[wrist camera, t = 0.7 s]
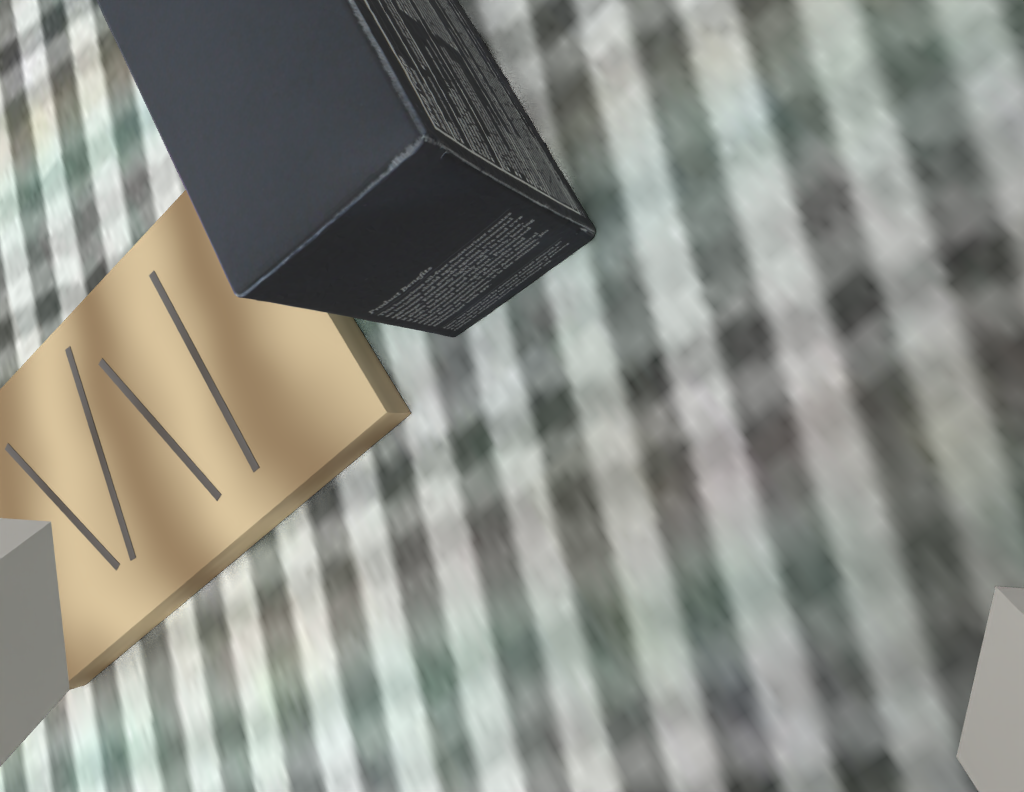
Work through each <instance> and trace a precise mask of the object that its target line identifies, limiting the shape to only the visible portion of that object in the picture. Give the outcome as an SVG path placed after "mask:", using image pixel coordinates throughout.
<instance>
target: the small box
mask: <svg viewBox="0 0 1024 792" xmlns="http://www.w3.org/2000/svg"><path fill="white" fill-rule="evenodd" d="M97 2H98V4H99V6H100V9H101V11H102V13H103V15H104V18H105V20H106V22H107V24H108V26H109V28H110V30H111V32H112V34H113V36H114V38H115V41H116V43H117V45H118V47H119V49H120V51H121V53H122V55H123V57H124V59H125V61H126V64H127V66H128V68H129V70H130V72H131V74H132V76H133V78H134V80H135V82H136V85H137V87H138V89H139V91H140V93H141V95H142V97H143V99H144V102H145V104H146V106H147V108H148V110H149V112H150V114H151V116H152V119H153V121H154V123H155V125H156V127H157V129H158V131H159V133H160V136H161V138H162V140H163V142H164V144H165V146H166V148H167V151H168V153H169V155H170V157H171V159H172V161H173V163H174V165H175V168H176V170H177V172H178V174H179V176H180V178H181V180H182V183H183V185H184V187H185V189H186V191H187V193H188V195H189V197H190V200H191V202H192V204H193V206H194V208H195V210H196V212H197V215H198V217H199V219H200V221H201V223H202V225H203V227H204V230H205V232H206V234H207V236H208V238H209V240H210V242H211V245H212V247H213V249H214V251H215V253H216V255H217V258H218V260H219V262H220V264H221V266H222V269H223V271H224V273H225V275H226V278H227V280H228V282H229V284H230V286H231V288H232V290H233V292H234V294H235V295H236V296H237V297H239V298H246V299H253V300H257V301H264V302H271V303H276V304H281V305H286V306H292V307H297V308H303V309H309V310H315V311H320V312H326V313H330V314H337V315H342V316H347V317H353V318H357V319H363V320H368V321H372V322H379V323H384V324H389V325H394V326H400V327H405V328H410V329H415V330H420V331H425V332H430V333H436V334H440V335H444V336H450V337H455V336H457V335H458V334H460V333H461V332H463V331H464V330H466V329H467V328H469V327H470V326H472V325H473V324H474V323H476V322H477V321H479V320H480V319H482V318H483V317H485V316H486V315H487V314H489V313H490V312H491V311H493V310H494V309H495V308H497V307H499V306H500V305H501V304H502V303H504V302H506V301H507V300H508V299H510V298H511V297H512V296H514V295H515V294H517V293H518V292H520V291H521V290H522V289H524V288H525V287H527V286H528V285H529V284H531V283H532V282H533V281H535V280H536V279H537V278H539V277H540V276H542V275H543V274H544V273H546V272H547V271H548V270H550V269H551V268H553V267H554V266H555V265H557V264H558V263H560V262H561V261H563V260H564V259H565V258H567V257H568V256H570V255H571V254H572V253H574V252H575V251H577V250H578V249H579V248H581V247H582V246H583V245H585V244H587V243H588V242H589V241H590V240H591V239H592V238H593V237H594V234H595V228H594V226H593V224H592V223H591V221H590V220H589V219H588V217H587V215H586V213H585V212H584V210H583V208H582V206H581V204H580V203H579V201H578V199H577V197H576V196H575V194H574V192H573V191H572V189H571V187H570V186H569V184H568V183H567V181H566V179H565V178H564V176H563V174H562V172H561V171H560V169H559V168H558V166H557V164H556V163H555V161H554V159H553V158H552V156H551V154H550V152H549V151H548V148H547V146H546V144H545V143H544V142H543V140H542V139H541V138H540V136H539V134H538V132H537V131H536V129H535V127H534V126H533V124H532V122H531V121H530V119H529V117H528V116H527V114H526V113H525V111H524V109H523V108H522V106H521V104H520V103H519V101H518V99H517V97H516V96H515V94H514V93H513V91H512V89H511V87H510V86H509V84H508V81H507V79H506V77H505V76H504V75H503V73H502V72H501V70H500V69H499V66H498V65H497V64H496V62H495V61H494V59H493V58H492V56H491V54H490V52H489V51H488V49H487V47H486V45H485V43H484V42H483V41H482V39H481V37H480V36H479V34H478V32H477V31H476V29H475V28H474V27H473V25H472V23H471V22H470V20H469V18H468V17H467V15H466V14H465V12H464V10H463V9H462V7H461V6H460V4H459V2H458V1H457V0H97Z"/></svg>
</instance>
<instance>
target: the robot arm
mask: <svg viewBox="0 0 1024 792" xmlns="http://www.w3.org/2000/svg"><path fill="white" fill-rule="evenodd" d="M69 690H70V688H69V679H68V670H67V661H66V652H65V643H64V634H63V625H62V616H61V607H60V598H59V589H58V580H57V571H56V562H55V553H54V544H53V535H52V526H51V521H36V520H22V519H7V518H0V766H1V765H2V764H3V763H4V762H5V761H6V760H7V759H8V758H9V756H10V755H11V754H12V753H13V752H14V751H15V750H16V749H17V748H18V746H19V745H20V744H21V743H22V742H23V741H24V740H25V739H26V738H27V736H28V735H29V734H30V733H31V732H32V731H33V730H34V729H35V728H36V726H37V725H38V724H39V723H40V722H41V721H42V720H43V719H44V718H45V716H46V715H47V714H48V713H49V712H50V711H51V710H52V709H53V708H54V706H55V705H56V704H57V703H58V702H59V701H60V700H61V699H62V697H63V696H64V695H65V694H66V693H67V692H68V691H69ZM956 757H957V759H958V760H959V762H960V763H961V765H962V766H963V768H964V770H965V771H966V773H967V774H968V776H969V777H970V779H971V780H972V782H973V784H974V785H975V787H976V788H977V790H978V791H979V792H1024V588H1014V587H999V586H995V591H994V595H993V599H992V604H991V608H990V612H989V617H988V621H987V626H986V630H985V634H984V639H983V643H982V647H981V652H980V656H979V660H978V665H977V669H976V673H975V678H974V682H973V687H972V691H971V695H970V700H969V704H968V708H967V713H966V717H965V721H964V726H963V730H962V735H961V739H960V743H959V748H958V752H957V756H956Z"/></svg>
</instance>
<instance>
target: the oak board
mask: <svg viewBox="0 0 1024 792" xmlns="http://www.w3.org/2000/svg"><path fill="white" fill-rule="evenodd" d="M410 414H411V412H410V411H409V409H408V407H407V406H406V404H405V402H404V401H403V399H402V398H401V396H400V394H399V393H398V391H397V389H396V388H395V386H394V384H393V383H392V381H391V379H390V378H389V376H388V374H387V373H386V371H385V369H384V368H383V366H382V365H381V363H380V361H379V360H378V358H377V356H376V355H375V353H374V351H373V350H372V348H371V346H370V345H369V343H368V341H367V340H366V338H365V337H364V335H363V333H362V332H361V330H360V328H359V327H358V325H357V323H356V322H355V320H354V318H353V317H347V316H342V315H337V314H330V313H326V312H320V311H315V310H309V309H303V308H297V307H292V306H286V305H281V304H276V303H271V302H264V301H257V300H253V299H246V298H239V297H237V296H236V295H235V294H234V292H233V290H232V288H231V286H230V284H229V282H228V280H227V278H226V275H225V273H224V271H223V269H222V266H221V264H220V262H219V260H218V258H217V255H216V253H215V251H214V249H213V247H212V245H211V242H210V240H209V238H208V236H207V234H206V232H205V230H204V227H203V225H202V223H201V221H200V219H199V217H198V215H197V212H196V210H195V208H194V206H193V204H192V202H191V200H190V197H189V195H188V193H187V191H186V190H185V191H184V192H183V193H182V195H181V196H180V197H179V198H178V199H177V200H176V201H175V202H174V203H173V204H172V205H171V206H170V207H169V209H168V210H167V211H166V212H165V213H164V214H163V215H162V216H161V217H160V218H159V219H158V220H157V221H156V222H155V224H154V225H153V226H152V227H151V228H150V229H149V230H148V231H147V232H146V233H145V234H144V235H143V236H142V238H141V239H140V240H139V241H138V242H137V243H136V244H135V245H134V246H133V247H132V248H131V249H130V250H129V252H128V253H127V254H126V255H125V256H124V257H123V258H122V259H121V260H120V261H119V262H118V263H117V264H116V266H115V267H114V268H113V269H112V270H111V271H110V272H109V273H108V274H107V275H106V276H105V277H104V278H103V279H102V281H101V282H100V283H99V284H98V285H97V286H96V287H95V288H94V289H93V290H92V291H91V292H90V293H89V295H88V296H87V297H86V298H85V299H84V300H83V301H82V302H81V303H80V304H79V305H78V306H77V307H76V309H75V310H74V311H73V312H72V313H71V314H70V315H69V316H68V317H67V318H66V319H65V320H64V321H63V323H62V324H61V325H60V326H59V327H58V328H57V329H56V330H55V331H54V332H53V333H52V334H51V335H50V337H49V338H48V339H47V340H46V341H45V342H44V343H43V344H42V345H41V346H40V347H39V348H38V349H37V350H36V352H35V353H34V354H33V355H32V356H31V357H30V358H29V359H28V360H27V361H26V362H25V363H24V364H23V366H22V367H21V368H20V369H19V370H18V371H17V372H16V373H15V374H14V375H13V376H12V377H11V378H10V380H9V381H8V382H7V383H6V384H5V385H4V386H3V387H2V388H1V389H0V518H7V519H22V520H36V521H51V526H52V535H53V544H54V553H55V562H56V571H57V580H58V589H59V598H60V607H61V616H62V625H63V634H64V643H65V652H66V661H67V670H68V679H69V688H70V689H74V688H77V687H80V686H83V685H86V684H87V683H88V682H89V681H91V680H92V679H93V678H94V677H95V676H97V675H98V674H99V673H100V672H101V671H103V670H104V669H105V668H106V667H107V666H109V665H110V664H111V663H112V662H113V661H115V660H116V659H117V658H118V657H119V656H121V655H122V654H123V653H124V652H125V651H127V650H128V649H129V648H130V647H131V646H133V645H134V644H135V643H136V642H137V641H139V640H140V639H141V638H142V637H143V636H145V635H146V634H147V633H148V632H149V631H151V630H152V629H153V628H154V627H155V626H157V625H158V624H159V623H160V622H161V621H163V620H164V619H165V618H166V617H167V616H169V615H170V614H171V613H172V612H173V611H175V610H176V609H177V608H178V607H179V606H181V605H182V604H183V603H184V602H185V601H187V600H188V599H189V598H190V597H191V596H193V595H194V594H195V593H196V592H197V591H199V590H200V589H201V588H202V587H203V586H205V585H206V584H207V583H208V582H209V581H211V580H212V579H213V578H214V577H215V576H217V575H218V574H219V573H220V572H221V571H223V570H224V569H225V568H226V567H227V566H229V565H230V564H231V563H232V562H233V561H235V560H236V559H237V558H238V557H239V556H241V555H242V554H243V553H244V552H245V551H247V550H248V549H249V548H250V547H251V546H253V545H254V544H255V543H256V542H257V541H259V540H260V539H261V538H262V537H263V536H265V535H266V534H267V533H268V532H269V531H271V530H272V529H273V528H274V527H275V526H277V525H278V524H279V523H280V522H281V521H283V520H284V519H285V518H286V517H287V516H289V515H290V514H291V513H292V512H293V511H295V510H296V509H297V508H298V507H299V506H301V505H302V504H303V503H304V502H305V501H307V500H308V499H309V498H310V497H311V496H313V495H314V494H315V493H316V492H317V491H319V490H320V489H321V488H322V487H323V486H325V485H326V484H327V483H328V482H329V481H331V480H332V479H333V478H334V477H335V476H337V475H338V474H339V473H340V472H341V471H343V470H344V469H345V468H346V467H347V466H349V465H350V464H351V463H352V462H353V461H355V460H356V459H357V458H358V457H359V456H361V455H362V454H363V453H364V452H365V451H367V450H368V449H369V448H370V447H371V446H373V445H374V444H375V443H376V442H377V441H379V440H380V439H381V438H382V437H383V436H385V435H386V434H387V433H388V432H389V431H391V430H392V429H393V428H394V427H395V426H397V425H398V424H399V423H400V422H401V421H403V420H404V419H405V418H406V417H407V416H409V415H410Z"/></svg>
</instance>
